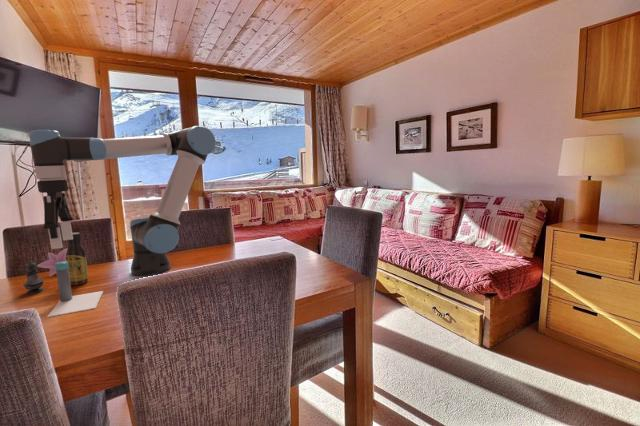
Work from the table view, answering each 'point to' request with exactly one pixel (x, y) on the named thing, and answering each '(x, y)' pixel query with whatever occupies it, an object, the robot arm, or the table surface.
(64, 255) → the lily
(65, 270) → the marker
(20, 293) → the table surface
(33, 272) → the dark grey chess piece
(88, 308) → the paper
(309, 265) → the table surface
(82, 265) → the sauce bottle
